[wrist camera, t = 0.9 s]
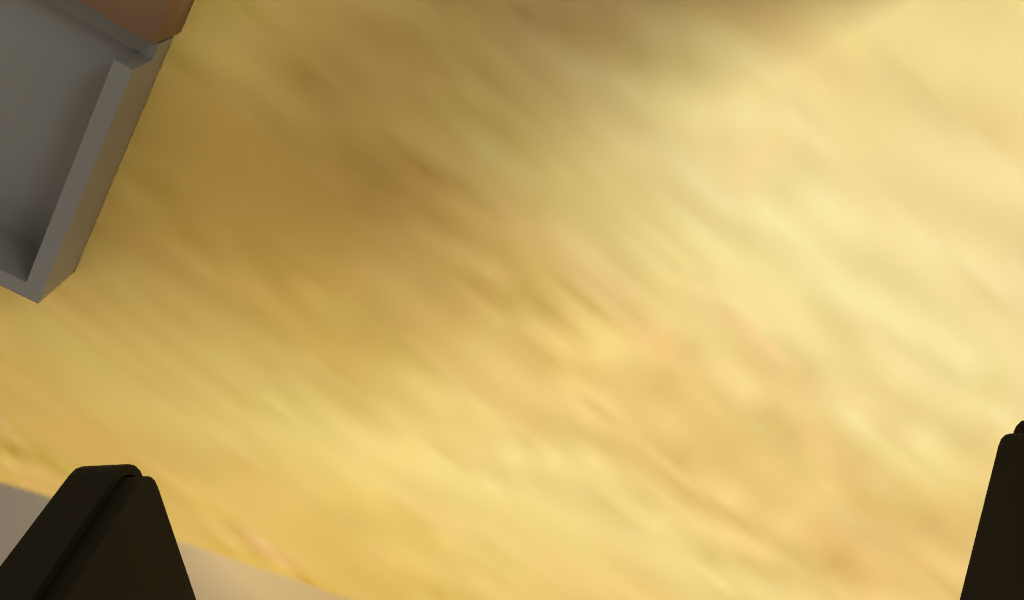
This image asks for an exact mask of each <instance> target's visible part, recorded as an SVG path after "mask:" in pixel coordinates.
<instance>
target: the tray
mask: <svg viewBox="0 0 1024 600" xmlns="http://www.w3.org/2000/svg"><path fill="white" fill-rule="evenodd" d="M172 39H173V37H169V38H167V39H164V40H162V41H160V42H158V43H156V44H151V43H149V42H147V41H146V40H144V39H142V38H141V37H139V36H137V35H135V34H134V33H132V32H130V31H129V30H127V29H125V28H123V27H122V26H120V25H118V24H117V23H115V22H113V21H111V20H110V19H108V18H106V17H105V16H103V15H101V14H99V13H98V12H96V11H94V10H93V9H91V8H89V7H87V6H86V5H84V4H82V3H81V2H79V1H77V0H0V285H1V286H3V287H5V288H7V289H9V290H11V291H13V292H15V293H17V294H20V295H22V296H24V297H26V298H28V299H30V300H32V301H34V302H36V303H39V302H40V301H41V300H43V299H44V298H45V297H46V296H47V295H48V294H49V293H51V292H52V291H53V290H54V289H55V288H56V287H57V286H59V285H60V284H61V283H62V282H63V281H64V280H65V279H67V278H68V277H69V276H70V275H71V274H72V273H73V272H75V269H76V267H77V264H78V262H79V260H80V257H81V255H82V252H83V250H84V248H85V245H86V243H87V241H88V238H89V236H90V233H91V231H92V229H93V226H94V224H95V222H96V219H97V217H98V214H99V212H100V210H101V207H102V205H103V203H104V200H105V198H106V195H107V193H108V191H109V188H110V186H111V184H112V181H113V179H114V176H115V174H116V172H117V169H118V167H119V165H120V162H121V160H122V157H123V155H124V153H125V150H126V148H127V146H128V143H129V141H130V138H131V136H132V134H133V131H134V129H135V127H136V124H137V122H138V119H139V117H140V115H141V112H142V110H143V108H144V105H145V103H146V100H147V98H148V96H149V93H150V91H151V89H152V86H153V84H154V81H155V79H156V77H157V74H158V72H159V70H160V67H161V65H162V62H163V60H164V58H165V55H166V53H167V51H168V48H169V46H170V43H171V41H172Z"/></svg>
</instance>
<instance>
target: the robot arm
mask: <svg viewBox="0 0 1024 600" xmlns="http://www.w3.org/2000/svg"><path fill="white" fill-rule="evenodd" d="M0 600H196V598H195V595H194V592H193V589H192V587H191V584H190V580H189V577H188V575H187V572H186V569H185V566H184V563H183V560H182V557H181V554H180V551H179V548H178V545H177V542H176V539H175V536H174V533H173V530H172V528H171V525H170V522H169V519H168V516H167V513H166V510H165V507H164V504H163V501H162V498H161V495H160V492H159V489H158V486H157V484H156V482H155V480H153V479H152V478H151V477H148V476H142V474H141V472H140V470H139V469H138V468H137V467H136V466H135V465H130V464H122V465H102V466H82V467H80V468H77V469H75V470H74V471H73V472H72V473H71V474H70V475H69V476H68V478H67V479H66V480H65V482H64V483H63V484H62V486H61V487H60V488H59V490H58V491H57V492H56V494H55V495H54V496H53V498H52V499H51V500H50V502H49V503H48V504H47V505H46V507H45V508H44V510H43V511H42V512H41V513H40V515H39V516H38V517H37V519H36V520H35V521H34V523H33V524H32V525H31V527H30V528H29V529H28V531H27V532H26V533H25V535H24V536H23V537H22V538H21V540H20V541H19V543H18V544H17V545H16V546H15V548H14V549H13V550H12V552H11V553H10V554H9V556H8V557H7V558H6V560H5V561H4V562H3V564H2V565H1V566H0ZM960 600H1024V421H1021V422H1020V423H1019V424H1018V425H1017V426H1016V428H1015V430H1014V433H1013V434H1007V435H1005V436H1004V437H1003V438H1002V439H1001V441H1000V443H999V446H998V450H997V454H996V458H995V462H994V466H993V470H992V474H991V478H990V482H989V486H988V490H987V494H986V498H985V502H984V506H983V510H982V514H981V518H980V522H979V526H978V530H977V534H976V538H975V542H974V546H973V550H972V554H971V558H970V562H969V565H968V569H967V573H966V577H965V581H964V585H963V589H962V593H961V597H960Z"/></svg>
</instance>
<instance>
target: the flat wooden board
mask: <svg viewBox="0 0 1024 600" xmlns="http://www.w3.org/2000/svg"><path fill="white" fill-rule="evenodd" d="M77 1H79V2H81V3H82V4H84V5H86V6H87V7H89V8H91V9H93V10H94V11H96V12H98V13H99V14H101V15H103V16H105V17H106V18H108V19H110V20H111V21H113V22H115V23H117V24H118V25H120V26H122V27H123V28H125V29H127V30H129V31H130V32H132V33H134V34H135V35H137V36H139V37H141V38H142V39H144V40H146V41H147V42H149V43H151V44H156V43H158V42H160V41H162V40H164V39H167V38H169V37H171V36H173V35H175V34H178V33H180V32H181V30H182V28H183V25H184V23H185V21H186V18H187V16H188V13H189V11H190V9H191V6H192V4H193V2H194V0H77Z"/></svg>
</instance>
